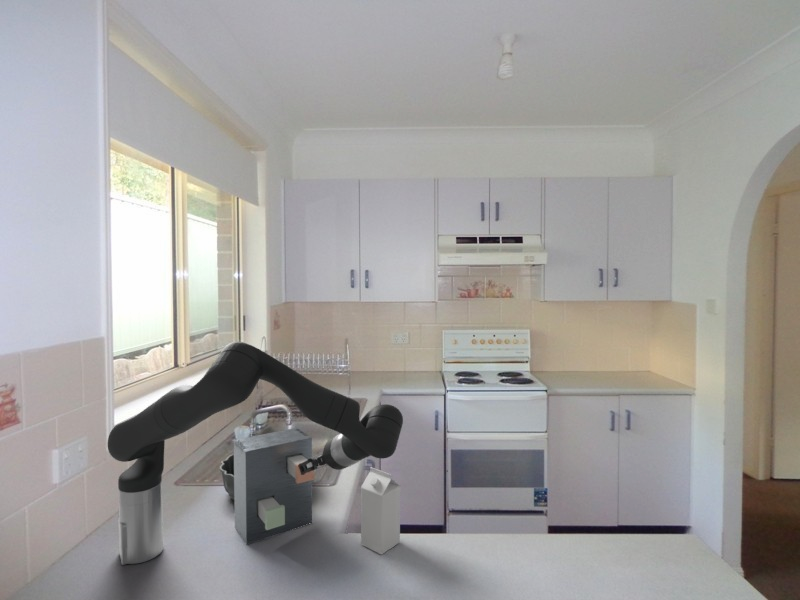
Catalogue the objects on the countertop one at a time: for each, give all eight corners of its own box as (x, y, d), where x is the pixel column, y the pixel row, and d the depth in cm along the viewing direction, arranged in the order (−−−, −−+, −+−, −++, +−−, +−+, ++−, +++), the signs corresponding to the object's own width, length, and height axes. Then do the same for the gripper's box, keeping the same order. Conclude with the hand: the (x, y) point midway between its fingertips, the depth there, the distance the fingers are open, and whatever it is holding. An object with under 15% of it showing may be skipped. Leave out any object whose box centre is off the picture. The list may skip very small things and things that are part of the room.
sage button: (266, 530, 115) (266, 511, 115) (254, 514, 122) (254, 497, 122) (284, 524, 118) (284, 506, 117) (271, 509, 125) (271, 492, 125)
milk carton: (379, 533, 125) (379, 462, 124) (400, 542, 121) (400, 470, 120) (360, 544, 120) (360, 471, 119) (381, 555, 115) (381, 479, 114)
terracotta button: (297, 483, 119) (297, 465, 119) (283, 471, 126) (283, 454, 126) (314, 479, 122) (314, 461, 121) (299, 467, 129) (299, 450, 129)
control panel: (246, 544, 120) (245, 451, 118) (234, 527, 128) (233, 440, 126) (312, 523, 130) (311, 437, 129) (297, 508, 138) (296, 427, 137)
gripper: (365, 423, 114) (335, 440, 125) (313, 443, 104) (286, 459, 116) (376, 454, 112) (345, 467, 123) (325, 476, 102) (296, 489, 114)
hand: (317, 463), depth 119 cm, fingers open, 8 cm apart
